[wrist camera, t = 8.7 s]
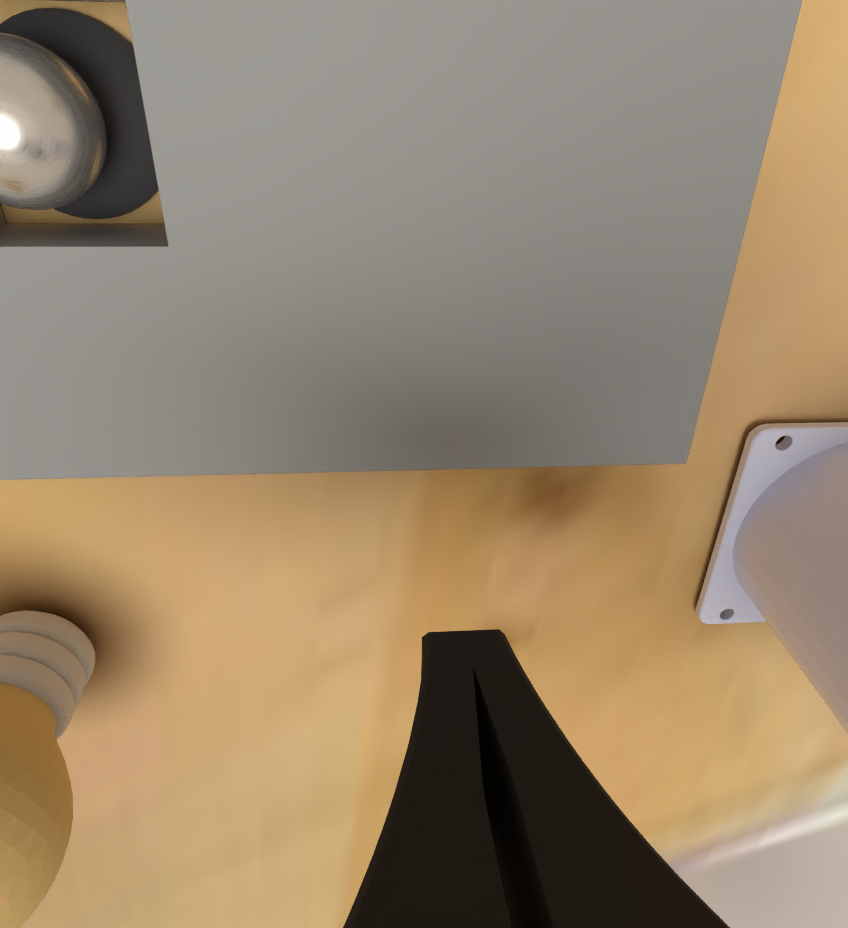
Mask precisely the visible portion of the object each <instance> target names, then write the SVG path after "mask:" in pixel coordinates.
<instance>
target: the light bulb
mask: <svg viewBox="0 0 848 928" xmlns="http://www.w3.org/2000/svg"><path fill="white" fill-rule="evenodd" d="M94 666H95V651H94V648H93V645H92V643H91V641H90V640H89V639H88V637H87V636H86V635H85V633H84V632H82V631H81V630H80V629H79V628H78V627H77V626H75V625H74V624H73V623H71V622H70V621H68V620H66V619H65V618H62V617H59V616H57V615H54V614H50V613H45V612H40V611H17V612H10V613H7V614H3V615H1V616H0V928H21V926H22V925H23V924H24V923H25V922H26V920H27V919H28V918H29V917H30V916H31V914H32V913H33V912H34V911H35V909H36V908H37V907H38V905H39V904H40V902H41V901H42V900H43V898H44V897H45V895H46V893H47V892H48V890H49V888H50V887H51V885H52V883H53V881H54V880H55V877H56V875H57V873H58V871H59V868H60V866H61V864H62V861H63V858H64V855H65V852H66V848H67V845H68V841H69V837H70V833H71V826H72V819H73V794H72V788H71V782H70V778H69V774H68V770H67V767H66V763H65V760H64V758H63V755H62V753H61V750H60V748H59V745H58V743H57V740H56V739H57V738H59V737H60V736H61V735H62V734H63V733H64V731H65V730H66V728H67V726H68V724H69V722H70V720H71V718H72V715H73V712H74V708H75V707H76V705H77V704H78V702H79V701H80V699H81V696H82V694H83V691H84V687H85V685H86V684H87V682H88V681H89V679H90V677H91V675H92V673H93V670H94Z"/></svg>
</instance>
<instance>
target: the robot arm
mask: <svg viewBox="0 0 848 928" xmlns="http://www.w3.org/2000/svg"><path fill="white" fill-rule="evenodd" d="M782 436H785V438H784V440H783V441H782V442H780V443H779V444H775V443H776V442H777V440H778V439H779V438H780V437H782ZM725 609H727V610H725ZM724 610H725V611H724ZM722 611H723V612H722ZM696 614H697V615H698V617H699V619H700V620H701V622H703V623H705V624H725V623H750V622H767V623H768V624H769V626H770V627H771V629H772V630H773V631H774V633H775V634H776V635H777V637H778V638H779V640H780V641H781V642H782V644H783V645H784V646H785V648H786V649H787V651H788V652H789V653H790V655H791V656H792V657H793V659H794V660H795V662H796V663H797V664H798V666H799V667H800V668H801V670H802V671H803V673H804V674H805V675H806V677H807V678H808V679H809V681H810V682H811V684H812V685H813V686H814V688H815V689H816V690H817V692H818V693H819V695H820V696H821V697H822V699H823V700H824V701H825V703H826V704H827V706H828V707H829V708H830V710H831V711H832V712H833V714H834V715H835V717H836V718H837V719H838V721H839V722H840V723H841V725H842V726H843V728H844V729H845V730H846V732H847V733H848V422H825V423H775V424H762V425H759V426H757V427H756V428H754V429H753V430H752V431H751V432H750V433H749V435H748V437H747V439H746V442H745V446H744V449H743V453H742V456H741V459H740V463H739V466H738V469H737V473H736V476H735V479H734V483H733V486H732V489H731V493H730V496H729V499H728V503H727V506H726V509H725V513H724V516H723V520H722V523H721V526H720V530H719V533H718V536H717V540H716V543H715V546H714V550H713V553H712V556H711V560H710V563H709V566H708V570H707V573H706V577H705V580H704V583H703V587H702V590H701V593H700V597H699V600H698V603H697V607H696ZM343 928H730V927H729V926H727V924H725V922H724V921H723V920H722V919H720V917H719V916H718V915H716V913H715V912H714V911H713V910H712V909H711V908H709V907H708V905H707V904H706V903H705V902H703V900H702V899H701V898H700V897H699V896H698V895H696V893H695V892H694V891H693V890H692V889H691V888H690V887H689V886H688V885H687V884H686V883H685V882H684V881H683V880H682V879H681V878H680V877H679V876H678V875H677V874H676V873H675V872H674V871H673V869H672V868H671V867H670V866H669V865H668V864H667V863H666V862H665V861H664V859H663V858H662V857H661V856H660V855H659V854H658V853H657V852H656V851H655V850H654V848H653V847H652V846H651V845H650V844H649V843H648V842H647V841H646V839H645V838H644V837H643V836H642V835H641V834H640V832H639V831H638V830H637V829H636V828H635V827H634V825H633V824H632V823H631V822H630V821H629V820H628V818H627V817H626V816H625V815H624V814H623V812H622V811H621V810H620V809H619V807H618V806H617V805H616V804H615V803H614V801H613V800H612V799H611V797H610V796H609V795H608V794H607V792H606V791H605V790H604V789H603V787H602V786H601V785H600V783H599V782H598V781H597V779H596V778H595V777H594V775H593V774H592V773H591V771H590V770H589V769H588V767H587V766H586V765H585V763H584V762H583V761H582V759H581V758H580V757H579V755H578V754H577V752H576V751H575V750H574V748H573V747H572V745H571V744H570V743H569V741H568V740H567V738H566V737H565V735H564V734H563V732H562V731H561V729H560V728H559V726H558V725H557V723H556V722H555V720H554V719H553V717H552V716H551V714H550V713H549V711H548V710H547V708H546V707H545V705H544V703H543V702H542V700H541V699H540V697H539V695H538V694H537V692H536V691H535V689H534V687H533V686H532V684H531V682H530V680H529V679H528V677H527V675H526V674H525V672H524V670H523V668H522V667H521V665H520V663H519V661H518V659H517V658H516V656H515V654H514V652H513V650H512V648H511V646H510V644H509V642H508V640H507V638H506V636H505V634H504V633H503V632H501V631H500V630H499V629H497V630H473V631H449V632H429V633H427V634H426V635H425V636H423V637H422V670H421V685H420V691H419V698H418V703H417V708H416V713H415V717H414V722H413V727H412V731H411V736H410V740H409V744H408V748H407V752H406V755H405V759H404V762H403V766H402V769H401V773H400V776H399V780H398V783H397V786H396V790H395V793H394V796H393V799H392V803H391V806H390V809H389V812H388V815H387V818H386V821H385V823H384V826H383V829H382V832H381V835H380V837H379V840H378V843H377V846H376V848H375V851H374V854H373V856H372V859H371V862H370V864H369V867H368V869H367V872H366V874H365V877H364V879H363V882H362V884H361V887H360V889H359V892H358V894H357V897H356V899H355V901H354V904H353V906H352V909H351V911H350V913H349V916H348V918H347V920H346V922H345V925H344V927H343Z"/></svg>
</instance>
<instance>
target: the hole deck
mask: <svg viewBox="0 0 848 928" xmlns="http://www.w3.org/2000/svg"><path fill="white" fill-rule="evenodd" d="M56 1H97V2H126V7H127V13H128V19H129V24H130V30H131V36H132V41H133V46H132V45H131V44H130V43H129V42H128V41H127V40H126V39H124V38H123V37H122V36H121V35H120V34H118V33H117V32H115V31H114V30H113V29H111V28H110V27H108V26H107V25H105V24H103V23H101V22H99V21H97V20H95V19H93V18H91V17H88V16H85V15H83V14H80V13H76V12H72V11H68V10H63V9H53V8H44V9H34V10H29V11H25V12H22V13H19V14H17V15H14V16H12V17H10V18H9V19H7V20H6V21H4V22H3V23H1V24H0V33H6V34H12V35H17V36H20V37H23V38H26V39H29V40H31V41H34V42H36V43H38V44H40V45H42V46H44V47H46V48H47V49H49V50H51V51H52V52H54V53H55V54H57V55H58V56H59V57H61V58H62V59H63V60H65V61H66V62H67V63H68V64H69V65H70V66H71V67H72V68H73V69H74V70H75V71H76V72H77V73H78V74H79V75H80V76H81V77H82V79H83V80H84V81H85V83H86V84H87V85H88V87H89V88H90V90H91V92H92V93H93V95H94V97H95V98H96V100H97V103H98V105H99V107H100V109H101V112H102V116H103V119H104V123H105V128H106V136H107V150H106V157H105V162H104V165H103V168H102V170H101V173H100V175H99V176H98V178H97V180H96V182H95V183H94V184H93V185H92V187H91V188H90V189H89V190H88V191H87V192H85V193H84V194H83V195H82V196H81V197H79V198H78V199H76V200H75V201H73V202H71V203H68V204H66V205H64V206H60V207H57V208H53V209H55V210H58V211H60V212H62V213H66V214H69V215H72V216H76V217H81V218H88V219H106V218H113V217H117V216H121V215H124V214H126V213H129V212H131V211H133V210H135V209H137V208H138V207H140V206H142V205H143V204H144V203H146V202H147V201H148V200H149V199H151V197H152V196H153V195H154V194H155V193H156V192H157V191H158V189H159V195H160V200H161V206H162V212H163V217H164V223H165V224H6V222H5V219H4V216H3V212H2V209H1V205H0V480H19V479H61V478H103V477H145V476H186V475H228V474H270V473H312V472H354V471H396V470H438V469H479V468H521V467H563V466H605V465H647V464H686V462H687V458H688V454H689V450H690V446H691V442H692V438H693V434H694V430H695V426H696V422H697V418H698V414H699V410H700V406H701V402H702V398H703V394H704V390H705V386H706V382H707V378H708V374H709V370H710V366H711V362H712V358H713V354H714V350H715V346H716V342H717V338H718V334H719V330H720V326H721V322H722V318H723V314H724V310H725V306H726V302H727V298H728V295H729V291H730V287H731V283H732V279H733V275H734V271H735V267H736V263H737V259H738V255H739V251H740V247H741V243H742V239H743V235H744V231H745V227H746V223H747V219H748V215H749V211H750V207H751V203H752V199H753V195H754V191H755V187H756V183H757V179H758V175H759V171H760V167H761V163H762V159H763V155H764V151H765V147H766V143H767V139H768V135H769V131H770V127H771V123H772V119H773V115H774V111H775V107H776V103H777V99H778V95H779V91H780V87H781V83H782V79H783V75H784V71H785V67H786V63H787V59H788V55H789V51H790V47H791V44H792V40H793V36H794V32H795V28H796V24H797V20H798V16H799V12H800V8H801V4H802V0H56Z"/></svg>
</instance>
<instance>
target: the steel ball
mask: <svg viewBox="0 0 848 928" xmlns="http://www.w3.org/2000/svg"><path fill="white" fill-rule="evenodd" d="M106 150H107V136H106V128H105V123H104V119H103V116H102V112H101V109H100V107H99V105H98V103H97V100H96V98H95V97H94V95H93V93H92V92H91V90H90V88H89V87H88V85H87V84H86V83H85V81H84V80H83V79H82V77H81V76H80V75H79V74H78V73H77V72H76V71H75V70H74V69H73V68H72V67H71V66H70V65H69V64H68V63H67V62H66V61H65V60H63V59H62V58H61V57H59V56H58V55H57V54H55V53H54V52H52V51H51V50H49V49H47V48H46V47H44V46H42V45H40V44H38V43H36V42H34V41H31V40H29V39H26V38H23V37H20V36H17V35H12V34H6V33H0V203H2V204H5V205H8V206H11V207H16V208H20V209H30V210H46V209H52V208H57V207H60V206H64V205H66V204H68V203H71V202H73V201H75V200H76V199H78V198H79V197H81V196H82V195H83V194H84V193H85V192H87V191H88V190H89V189H90V188H91V187H92V185H93V184H94V183H95V182H96V180H97V178H98V176H99V175H100V173H101V170H102V168H103V165H104V162H105V157H106Z"/></svg>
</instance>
